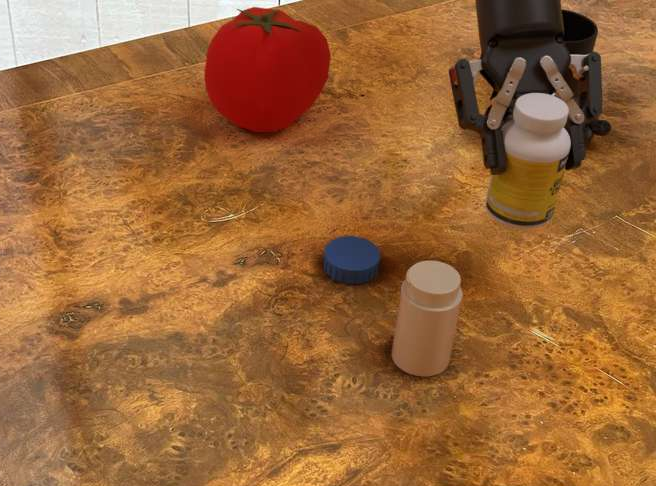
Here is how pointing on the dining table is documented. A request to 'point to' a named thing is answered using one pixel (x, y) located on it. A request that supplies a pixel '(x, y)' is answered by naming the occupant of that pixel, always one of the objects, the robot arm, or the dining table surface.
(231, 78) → the tomato
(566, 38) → the black cylindrical cup
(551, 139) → the pill bottle
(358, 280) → the jar lid
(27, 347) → the dining table surface
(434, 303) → the plain beige capped bottle
